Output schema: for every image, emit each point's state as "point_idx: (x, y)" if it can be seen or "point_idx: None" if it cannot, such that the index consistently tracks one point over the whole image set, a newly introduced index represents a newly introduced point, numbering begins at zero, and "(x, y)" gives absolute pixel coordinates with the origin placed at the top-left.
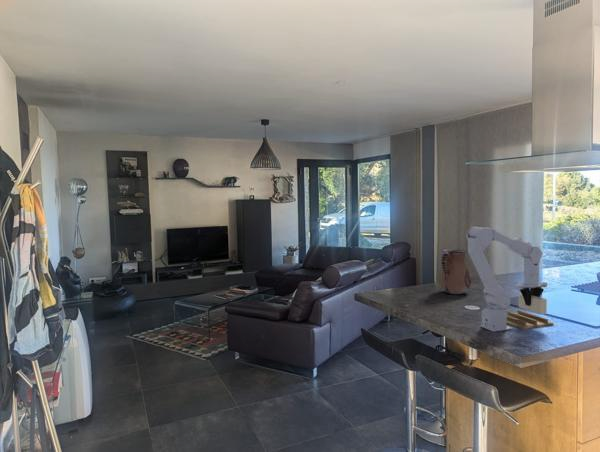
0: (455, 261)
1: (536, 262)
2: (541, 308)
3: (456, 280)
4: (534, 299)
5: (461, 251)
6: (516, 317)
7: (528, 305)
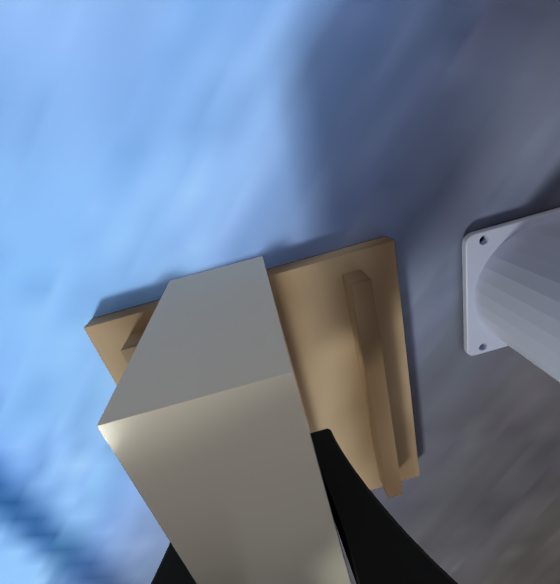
0: None
1: None
2: (251, 286)
3: None
4: (321, 476)
5: None
6: None
7: (332, 437)
